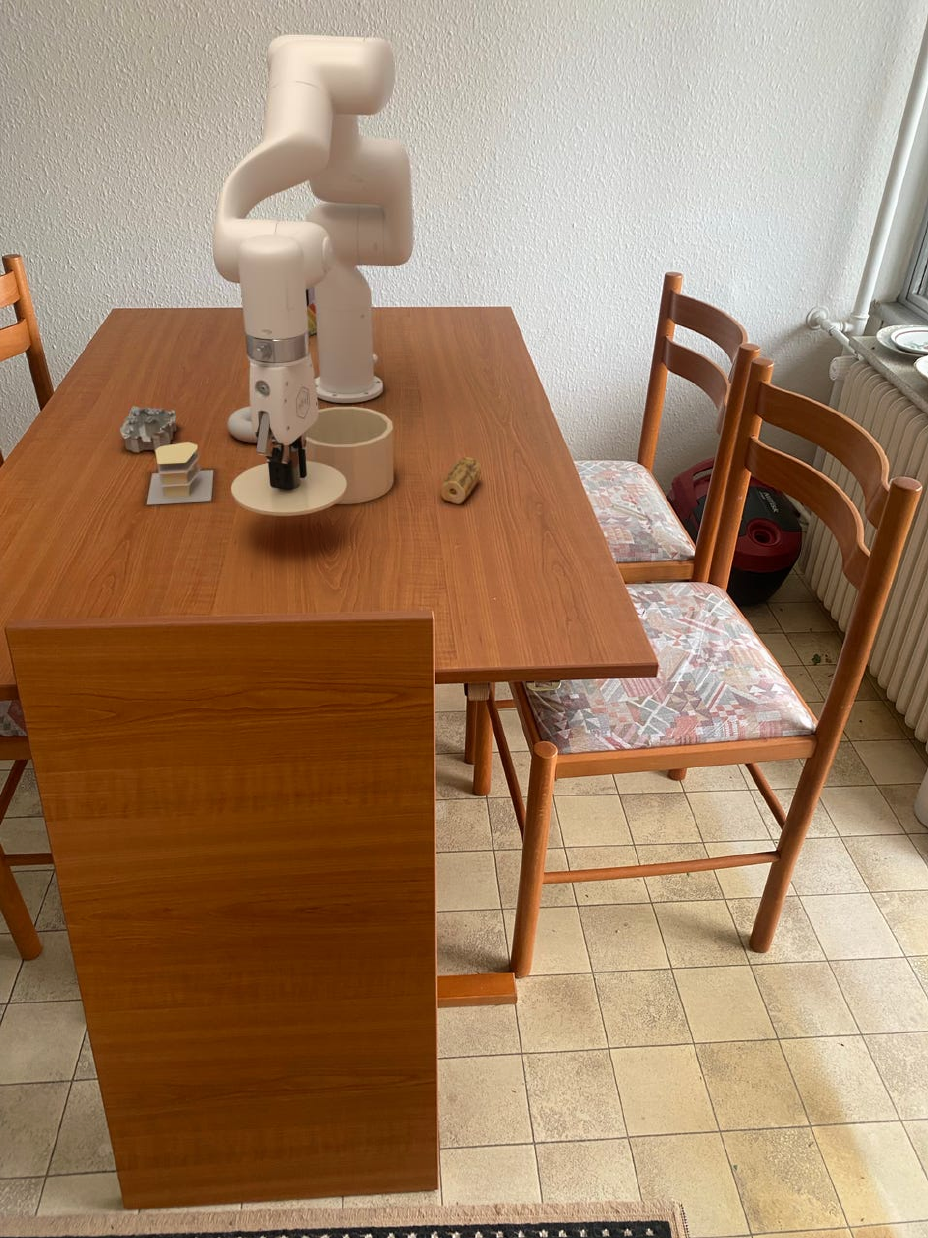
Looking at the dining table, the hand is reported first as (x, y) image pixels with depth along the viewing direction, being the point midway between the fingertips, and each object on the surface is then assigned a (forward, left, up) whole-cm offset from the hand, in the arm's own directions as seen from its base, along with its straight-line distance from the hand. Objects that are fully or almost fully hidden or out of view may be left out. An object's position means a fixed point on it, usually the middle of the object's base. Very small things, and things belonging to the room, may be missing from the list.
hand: (288, 480), depth 135 cm
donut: (-29, -20, -9) cm, 36 cm away
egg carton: (-21, -35, -9) cm, 42 cm away
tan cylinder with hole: (-21, +17, -9) cm, 28 cm away
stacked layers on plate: (-8, -22, -9) cm, 25 cm away
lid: (0, 0, -1) cm, 1 cm away
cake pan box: (-77, -34, -9) cm, 84 cm away
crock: (-18, 0, -9) cm, 20 cm away
